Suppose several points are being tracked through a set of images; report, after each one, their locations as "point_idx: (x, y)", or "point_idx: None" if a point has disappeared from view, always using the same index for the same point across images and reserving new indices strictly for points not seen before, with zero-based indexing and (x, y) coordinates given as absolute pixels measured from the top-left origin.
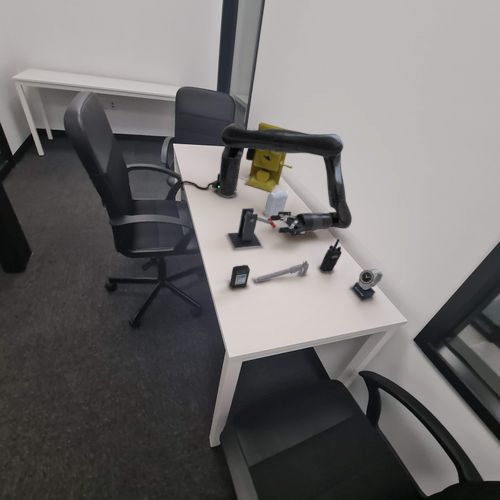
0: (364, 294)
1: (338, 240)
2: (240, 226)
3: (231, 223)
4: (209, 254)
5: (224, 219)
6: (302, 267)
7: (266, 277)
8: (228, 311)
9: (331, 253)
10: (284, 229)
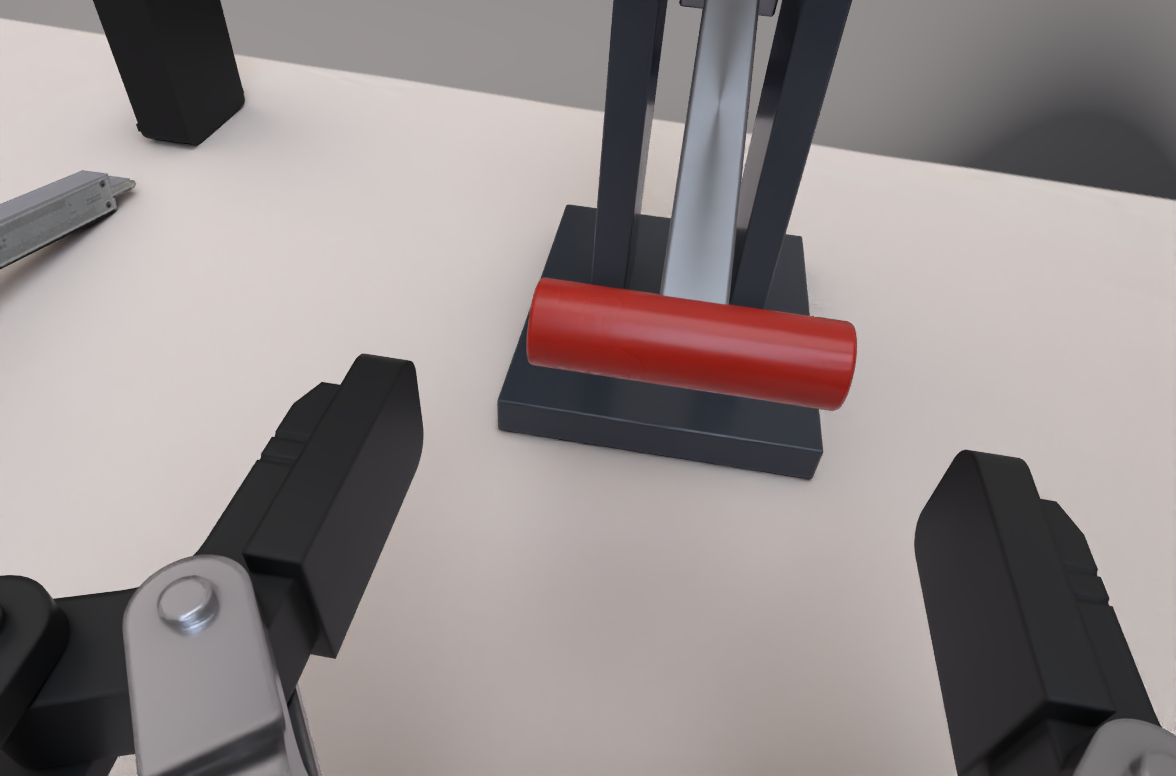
0: None
1: None
2: (753, 133)
3: (1050, 368)
4: (576, 120)
5: (1128, 341)
6: None
7: (28, 196)
8: (91, 52)
9: None
10: (301, 442)
